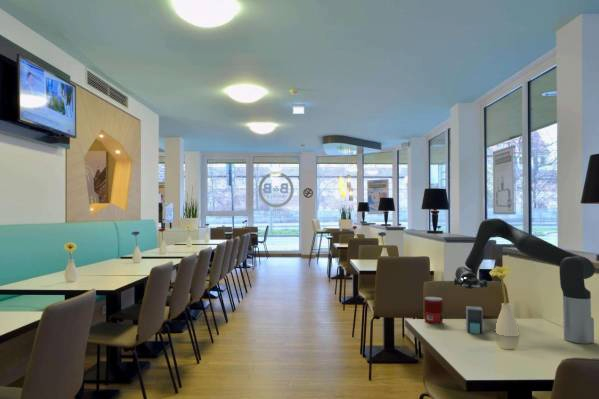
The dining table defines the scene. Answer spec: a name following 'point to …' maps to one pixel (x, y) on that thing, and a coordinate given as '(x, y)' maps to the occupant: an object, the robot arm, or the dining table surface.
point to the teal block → (474, 327)
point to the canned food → (433, 309)
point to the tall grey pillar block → (474, 316)
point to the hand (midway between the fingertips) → (471, 284)
